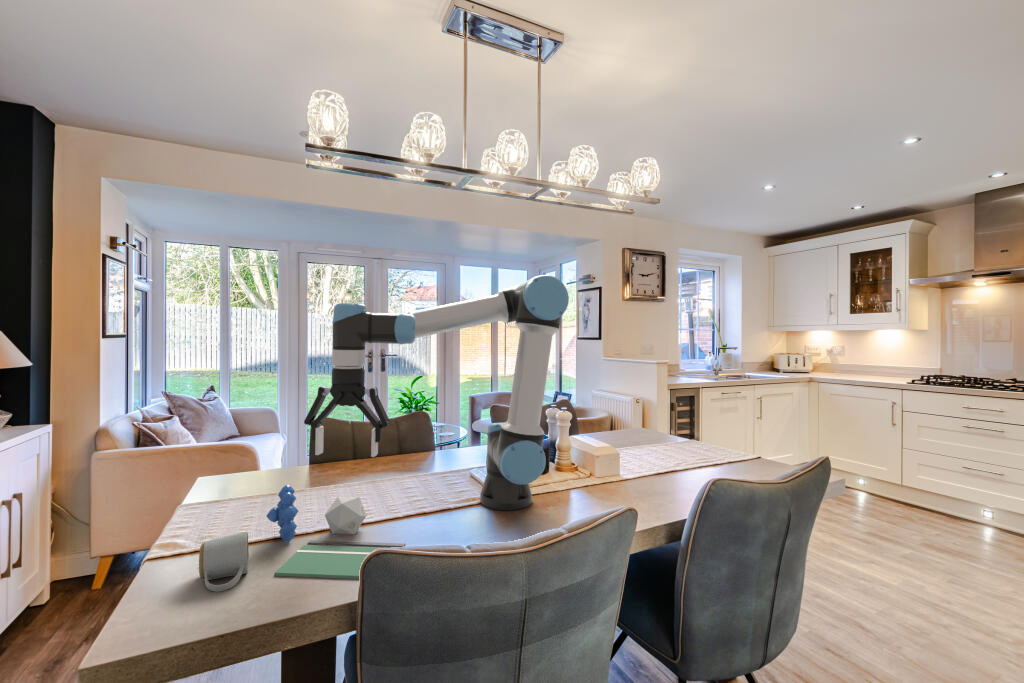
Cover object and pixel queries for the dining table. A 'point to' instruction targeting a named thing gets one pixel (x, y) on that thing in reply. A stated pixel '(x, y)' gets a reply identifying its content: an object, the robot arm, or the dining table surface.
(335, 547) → the felt mat
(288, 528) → the grapes
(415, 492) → the dining table surface
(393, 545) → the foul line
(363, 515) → the die
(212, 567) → the ceramic mug
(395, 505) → the dining table surface
